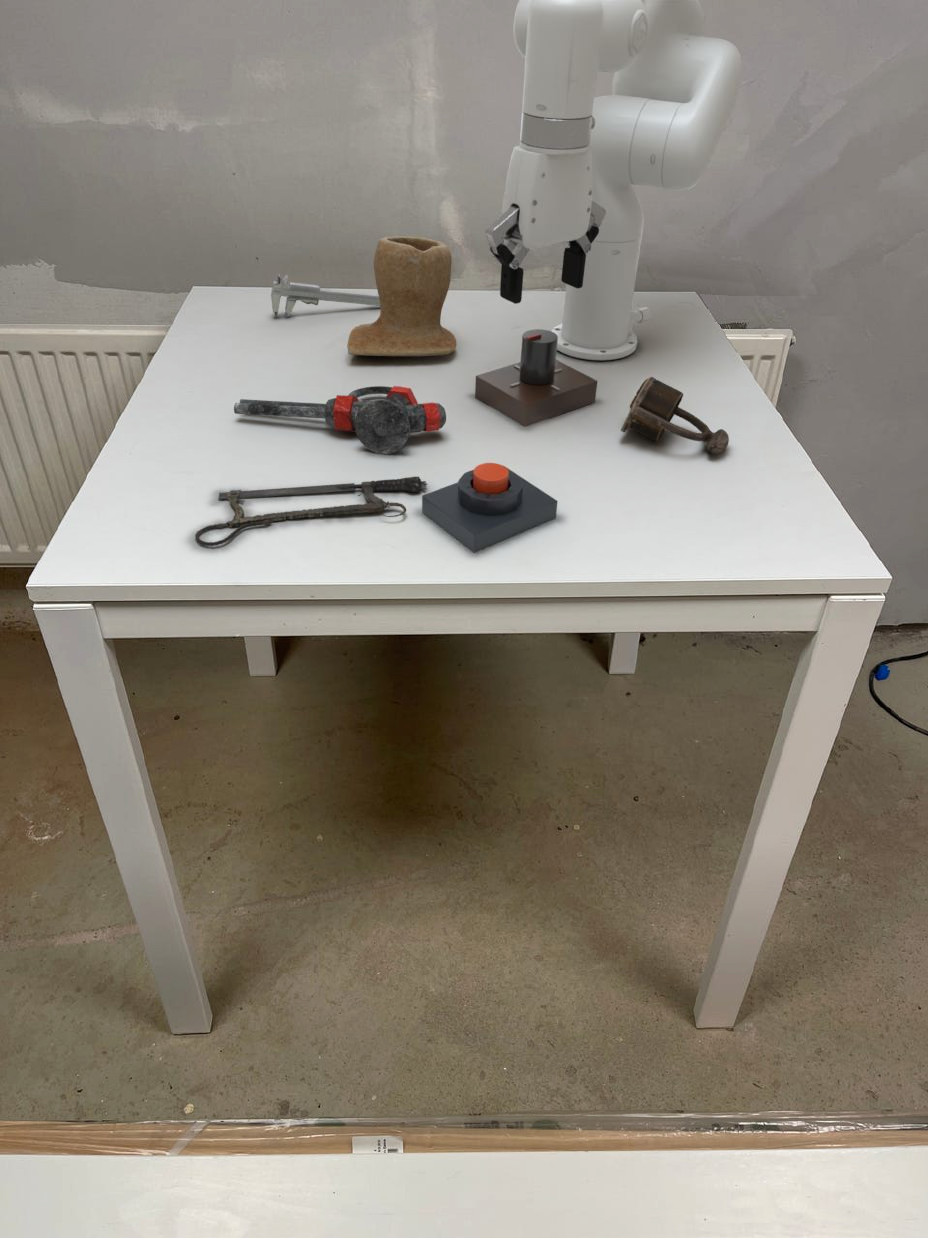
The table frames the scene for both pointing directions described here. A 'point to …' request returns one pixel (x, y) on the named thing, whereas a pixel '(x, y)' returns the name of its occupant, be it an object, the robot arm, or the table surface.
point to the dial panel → (535, 393)
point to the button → (490, 478)
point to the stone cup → (408, 300)
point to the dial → (538, 356)
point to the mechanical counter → (668, 416)
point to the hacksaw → (368, 487)
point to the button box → (488, 511)
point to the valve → (362, 415)
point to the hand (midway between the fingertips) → (541, 292)
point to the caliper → (314, 295)
